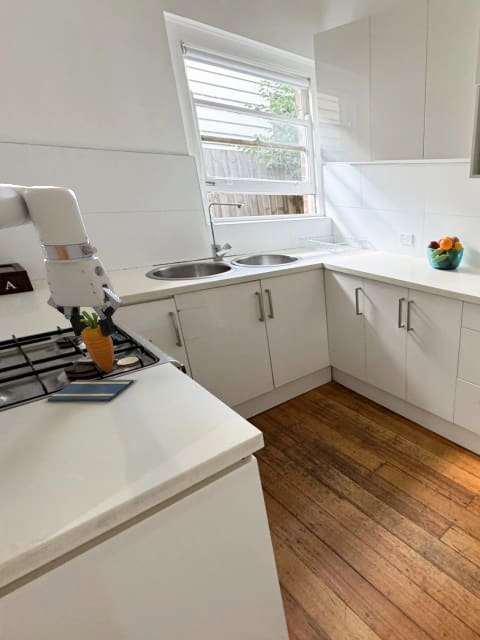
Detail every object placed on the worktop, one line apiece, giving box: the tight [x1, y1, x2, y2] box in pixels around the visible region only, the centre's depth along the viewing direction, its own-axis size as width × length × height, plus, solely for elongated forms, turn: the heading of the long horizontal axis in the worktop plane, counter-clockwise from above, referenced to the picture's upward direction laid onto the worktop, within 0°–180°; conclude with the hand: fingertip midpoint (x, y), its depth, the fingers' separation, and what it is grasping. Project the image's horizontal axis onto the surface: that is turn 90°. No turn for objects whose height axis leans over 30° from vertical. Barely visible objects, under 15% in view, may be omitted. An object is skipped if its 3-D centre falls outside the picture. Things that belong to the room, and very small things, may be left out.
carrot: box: [80, 310, 115, 373], centre depth 86 cm, size 5×5×15 cm
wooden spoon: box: [77, 356, 140, 369], centre depth 93 cm, size 14×4×1 cm, turn 93°
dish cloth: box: [46, 379, 134, 402], centre depth 81 cm, size 12×8×1 cm, turn 93°
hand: (95, 333), depth 85 cm, fingers closed on carrot, 5 cm apart
